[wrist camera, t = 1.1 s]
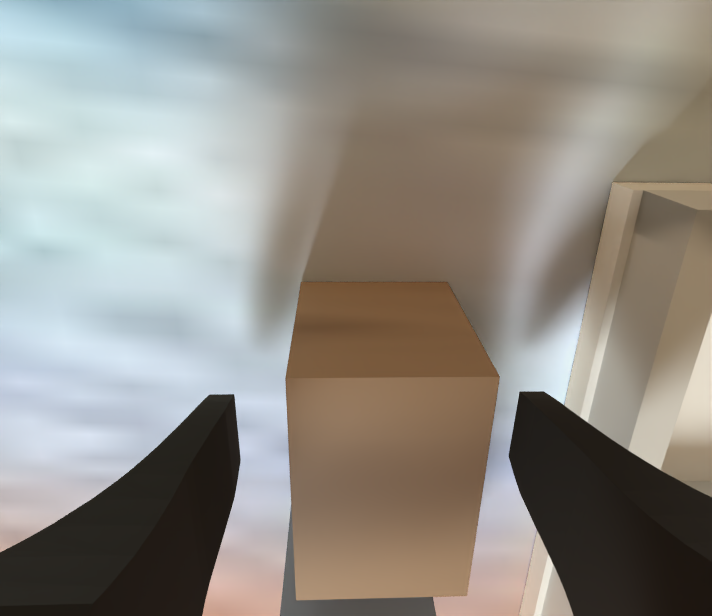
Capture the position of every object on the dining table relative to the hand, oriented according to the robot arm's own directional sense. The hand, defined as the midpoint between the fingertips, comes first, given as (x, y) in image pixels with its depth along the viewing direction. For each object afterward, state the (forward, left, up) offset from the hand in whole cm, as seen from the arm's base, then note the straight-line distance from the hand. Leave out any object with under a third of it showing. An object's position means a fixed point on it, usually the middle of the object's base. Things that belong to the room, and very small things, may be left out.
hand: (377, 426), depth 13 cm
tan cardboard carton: (0, 0, -3) cm, 3 cm away
